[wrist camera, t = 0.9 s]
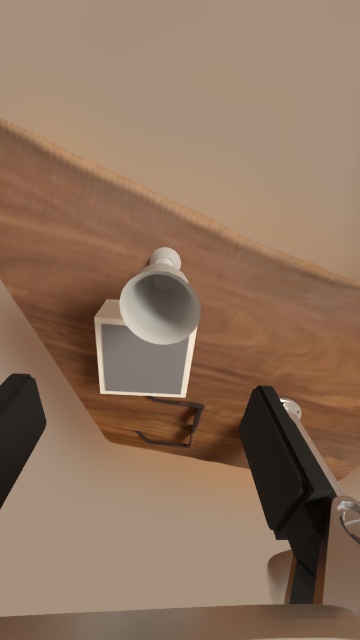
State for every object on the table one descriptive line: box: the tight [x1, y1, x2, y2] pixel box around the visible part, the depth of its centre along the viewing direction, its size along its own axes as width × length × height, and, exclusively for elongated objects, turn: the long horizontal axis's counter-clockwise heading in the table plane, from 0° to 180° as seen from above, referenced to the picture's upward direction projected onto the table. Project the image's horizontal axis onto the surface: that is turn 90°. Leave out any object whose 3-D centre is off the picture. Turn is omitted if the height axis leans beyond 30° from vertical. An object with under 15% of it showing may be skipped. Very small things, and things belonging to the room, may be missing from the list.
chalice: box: [119, 247, 201, 345], centre depth 27 cm, size 7×7×18 cm
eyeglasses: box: [133, 396, 204, 449], centre depth 49 cm, size 15×15×5 cm
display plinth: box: [94, 299, 197, 397], centre depth 38 cm, size 15×15×7 cm
